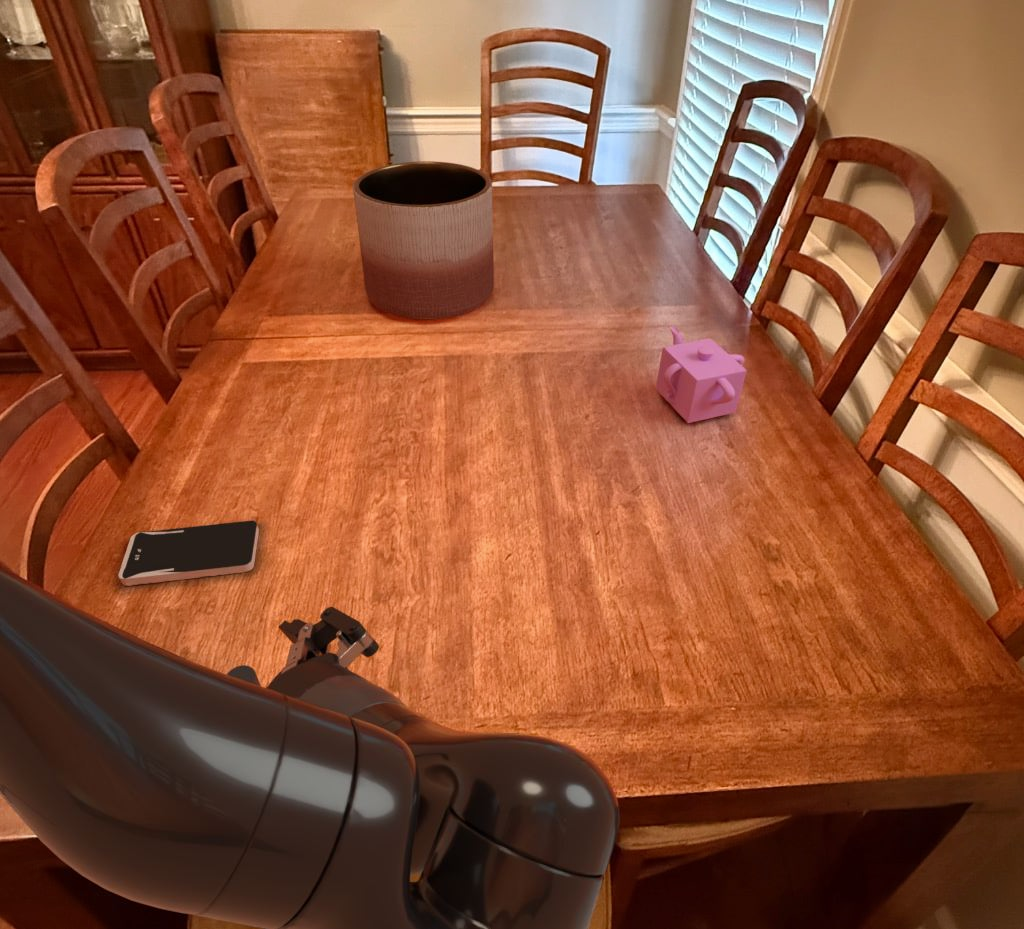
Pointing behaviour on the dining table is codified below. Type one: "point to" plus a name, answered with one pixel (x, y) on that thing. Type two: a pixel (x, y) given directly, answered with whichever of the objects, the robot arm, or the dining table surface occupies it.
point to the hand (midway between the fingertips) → (246, 673)
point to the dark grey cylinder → (244, 674)
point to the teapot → (700, 378)
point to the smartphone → (189, 553)
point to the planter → (426, 238)
